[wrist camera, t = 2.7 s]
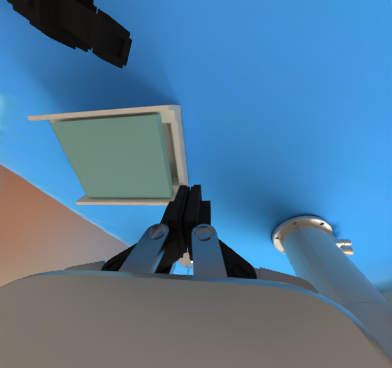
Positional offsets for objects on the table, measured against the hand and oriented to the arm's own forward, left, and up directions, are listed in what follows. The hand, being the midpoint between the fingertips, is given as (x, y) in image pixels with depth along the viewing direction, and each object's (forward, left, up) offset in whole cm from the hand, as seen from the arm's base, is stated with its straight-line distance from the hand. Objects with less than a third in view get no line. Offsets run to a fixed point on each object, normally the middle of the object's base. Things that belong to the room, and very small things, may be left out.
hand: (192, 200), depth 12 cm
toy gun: (+17, -19, -18) cm, 31 cm away
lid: (+14, 0, -13) cm, 19 cm away
